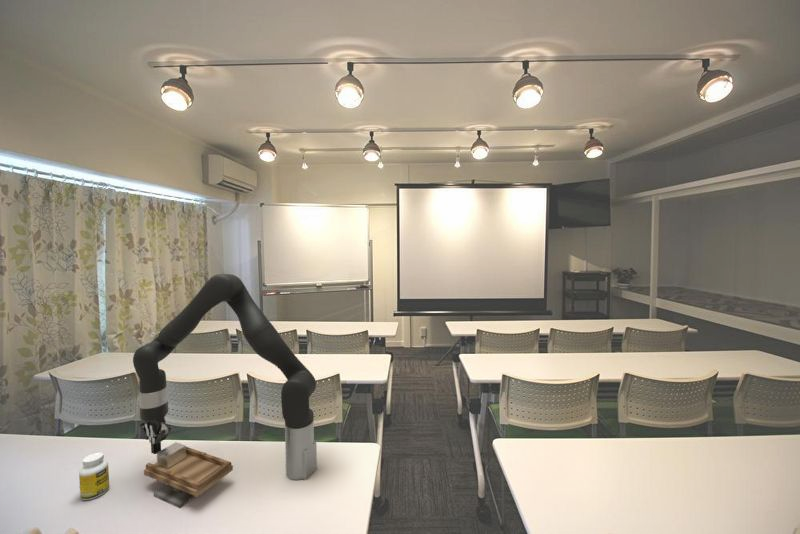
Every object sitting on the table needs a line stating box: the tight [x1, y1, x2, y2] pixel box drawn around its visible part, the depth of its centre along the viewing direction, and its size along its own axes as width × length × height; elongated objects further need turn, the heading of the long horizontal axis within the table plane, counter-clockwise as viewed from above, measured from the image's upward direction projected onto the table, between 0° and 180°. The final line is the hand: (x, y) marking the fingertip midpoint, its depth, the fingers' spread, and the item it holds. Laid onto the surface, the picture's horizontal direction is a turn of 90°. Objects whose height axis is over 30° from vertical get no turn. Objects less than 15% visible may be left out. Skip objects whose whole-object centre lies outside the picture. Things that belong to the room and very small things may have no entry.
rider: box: [156, 441, 187, 469], centre depth 105 cm, size 5×6×4 cm
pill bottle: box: [78, 452, 110, 501], centre depth 99 cm, size 6×6×12 cm
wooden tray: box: [143, 446, 234, 509], centre depth 102 cm, size 24×14×8 cm, turn 68°
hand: (156, 452), depth 108 cm, fingers closed
